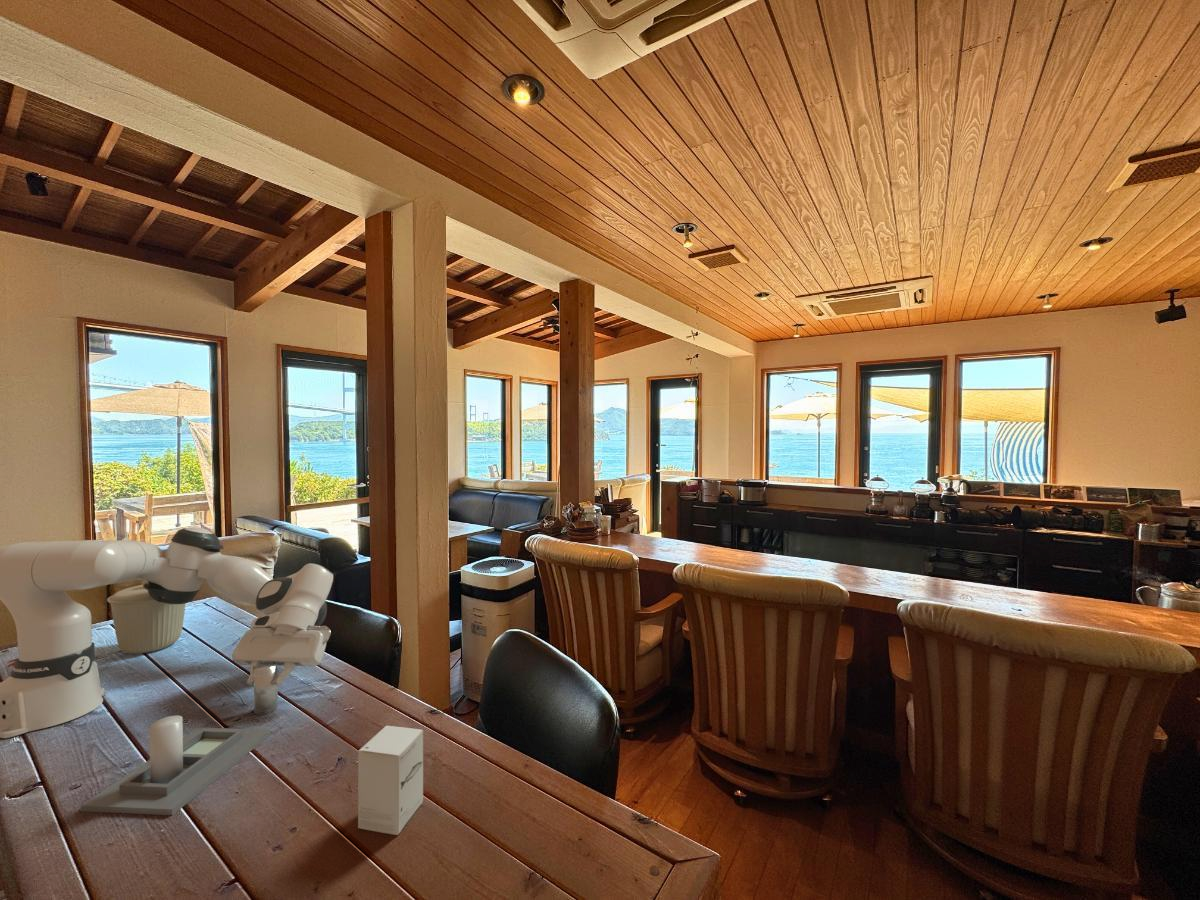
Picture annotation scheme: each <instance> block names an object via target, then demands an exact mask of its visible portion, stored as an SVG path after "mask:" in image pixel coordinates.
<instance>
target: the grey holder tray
mask: <svg viewBox="0 0 1200 900" xmlns="http://www.w3.org/2000/svg"><path fill="white" fill-rule="evenodd" d="M183 725H184V724H183V716H181V715H169V716H166V717H163V718H160V719H158V720H156V721H154V722H153V723H151V724H150V726H149V759H148V760H147V761H146V762H144V763H142V764H141V765H140V766H138V767H136V768H135V769H133V770H132V771H130V772H129V773H128V774H126V775H124V776H123V777H121V778H120V779H118V780H117V781H115V782H113V783H112V784H110V785H109V786H108V787H106V788H105V789H103V790H102V791H100V792H99V793H97V794H96V795H94V796H93V797H91V798H90V799H88V800H86V801H85V802H84V803H82V804H81V805H80V812H90V813H107V814H109V813H111V814H132V815H136V814H137V815H153V816H154V815H157V816H158V815H159V816H174V815H175V814H176V813H177V812H178V811H180V810H181V809H182V808H183V807H185V806H186V805H187V804H188V803H190V801H192V800H193V799H194V798H196V797H197V796H198V795H199V794H200V793H202V792H204V790H205V789H207V788H208V787H209V786H210V785H212V784H213V783H214V782H215V781H216V780H217V779H218V778H220V777H221V776H222V775H223V774H225V773H226V772H227V771H228V770H229V769H231V768H232V767H233V766H234V765H236V764H237V763H238V762H240V761H241V760H242V759H243V758H244V757H245V756H247V755H248V754H249V753H250V752H251V751H252V750H254V749H256V748H257V747H259V745H260V744H262V743H263V742H264V741H265V740H266V739H267V738H269V737H270V736H271V735H272V730H271V729H259V728H258V729H254V728H252V729H251V728H222V727H200V726H199V727H197V728H195V729H194V730H192V731H191V732H189V733H187V734H186V735H185V736H184V735H183V733H184V731H183V729H184V728H183V727H184V726H183Z"/></svg>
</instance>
